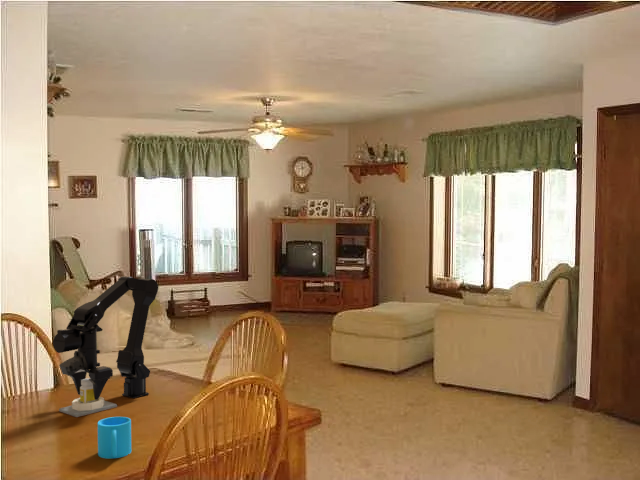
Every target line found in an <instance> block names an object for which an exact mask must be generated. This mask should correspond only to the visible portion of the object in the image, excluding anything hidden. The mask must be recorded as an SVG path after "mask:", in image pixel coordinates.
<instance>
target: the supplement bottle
mask: <svg viewBox="0 0 640 480" xmlns="http://www.w3.org/2000/svg"><path fill="white" fill-rule="evenodd" d="M89 379H90V377H88V378H87V377H86V378H85V379H82V380H81V385H82V386H81V387H80V395H79V398H80V403H92V402H96V400H95V398H94V391H93V384H92V382H91V381H89Z"/></svg>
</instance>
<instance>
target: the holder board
mask: <svg viewBox="0 0 640 480" xmlns="http://www.w3.org/2000/svg"><path fill="white" fill-rule="evenodd" d="M113 408H118V405H117V403H115V402H112V401H111V402H110V401H107V400H105V398H104V397H102V396H100V397H99V399H97V400H96V402H92V403H80V397H77V398H74V399H73V400H72V401H71V405H67V406H64V407H59V408H58V412H60V413H63V414H67V415H69V416H72V417H75V418H78V417H82V416H86V415H87V416H88V415H91V414H95V413H98V412H102V411H106V410H111V409H113Z"/></svg>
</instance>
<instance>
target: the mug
mask: <svg viewBox="0 0 640 480" xmlns="http://www.w3.org/2000/svg"><path fill="white" fill-rule="evenodd" d="M128 454H129V455H130V454H132V419H131V418H130V417H127V416H112V417H111V416H110V417H106V418H101V419H100V420H98V422H97V455H98V457H100V458H102V459H118V458H123V457H124V458H125V457H127V456H129V455H128Z"/></svg>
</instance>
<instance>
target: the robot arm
mask: <svg viewBox="0 0 640 480" xmlns="http://www.w3.org/2000/svg"><path fill="white" fill-rule="evenodd" d="M129 291H131V292H132V293H131V297H132V300H133V303H134V304H133V305H134V306H133V310H132V315H131V321H130V325H129V330H128V336H127V341H126V345H125V347H124V348H123V350H121V349H119V350H118V352H117V359H116V361H115V363H116V367H117V370H118V371H119V373H120V376H121V377H122V378H123V377H124V382H123V393H122V394H121V395H122V396H124V397H127V398H131V399H136V398H139V397H144V396H148V395H149V394H150V393H149V392H147V387H146V386H147V382H146V381H147V380H146V379H147V378H149V377H150V374H151V370H150V369H149V368H148V367H147V366H146V365H145V356H144V352H143V349H142V346H143V343H144V342H143V341H144V336H145V331H146V325H147V321H148V316H149V309H150V306H151V304H152V303H153V302H154V301H155V300H156V298H157V295H158V291H159V284H158V282H157V281H156V279H154V278H152V279H151V278H137V277H136V278H134V277H133V276H127V275H126V276H124V275H123V276H120V277H119V278H118V280H117V281H116V282H114V283H113V284H112V285H111V286H110V287H108V288H107V289H106V290H105V291H103V292H102V293H101V294H100V295H99V296H98V297H96V298H95V299H93V300H92V301H88V302H85V303H83V304H82V305H80V306H78V307H77V308H76V309H75V310H74V311H73V316H72V317H71V319H70V321H69V322H68V324H67V326H66V329H57V330H56V332H57V334H55V336H54V338H53V340H52V345H53V346H52V347H53V349H54V351H55V352H56V353H57V354H62V353H65V352H66V353H67V352H70V351H71V352H72V351H74V353H73V356H72V357H71V358H68V359H66V360H65V361H62V362H61V363H59V368H60V370H61V373H62V375H66V376H67V377H70V378H71V379H72V381H73V383H74V387H75V390H76V392H77V393H76V394H77V395H78V396H80V387H81V386H82V385H81V380H82V379H87V374H88V378H90V379H89V381H91V382H92V384H93V391H94V398H95V400H97V399H99V397H101V394H102V392H103V390H104V388H105V386H106V384H107V382H109V381H108V380H110V379H111V377H113V376H114V375H113V374H114V373H113V371H114V370H113V369H112V368H111V367H109V366H105V365H103V366H101V363H100V362H98V354H100V353H101V350H100V349H98V346H97V345H98V343H97V341H98V340H97V339H98V337H97V336H98V335H97V334H98V332H102V331H103V328H101V327H100V326H99V325H98V324H99V322H100V321H101V320H102V319H103V317H104V315H105V313H106V311H107V310H108V309H109V308H110V307H112V306H113V304H115V303H116V302H117V301H118V300H120V298H122V297H123V296H124V295H125V294H126V293H128V292H129Z"/></svg>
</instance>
